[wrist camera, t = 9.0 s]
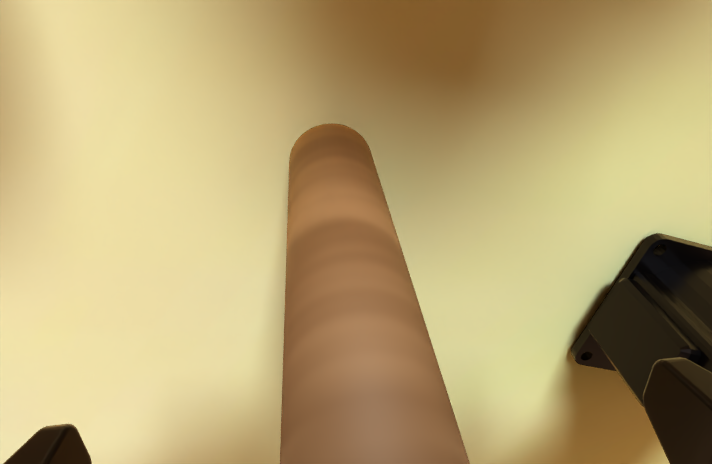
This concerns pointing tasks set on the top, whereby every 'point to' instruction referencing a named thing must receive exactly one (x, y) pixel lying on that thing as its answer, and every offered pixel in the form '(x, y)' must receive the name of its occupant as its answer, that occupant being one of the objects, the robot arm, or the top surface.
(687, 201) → the top surface
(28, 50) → the top surface
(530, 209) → the top surface
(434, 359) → the gate
